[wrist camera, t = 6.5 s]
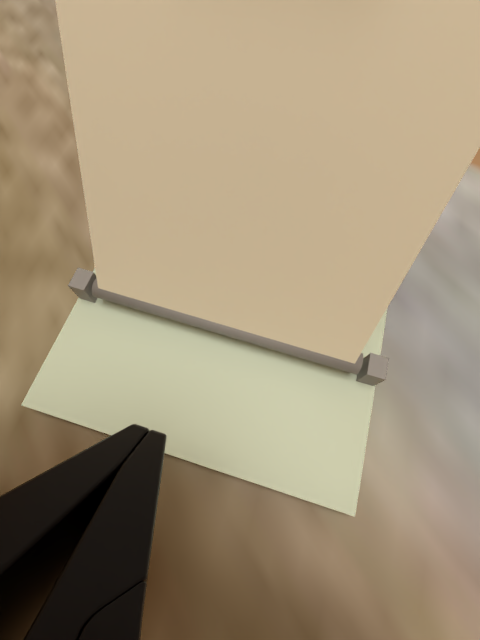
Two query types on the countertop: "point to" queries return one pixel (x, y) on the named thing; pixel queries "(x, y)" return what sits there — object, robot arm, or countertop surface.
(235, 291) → the hinged cream panel
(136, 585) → the robot arm
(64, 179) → the countertop surface
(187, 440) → the pale green base plate
